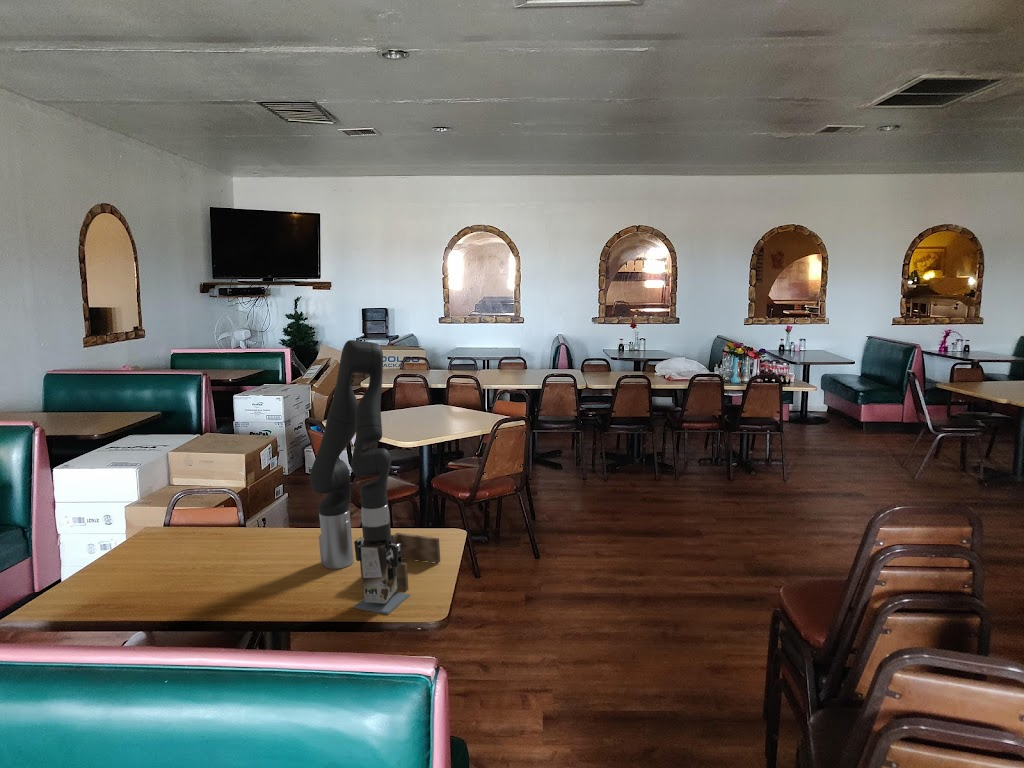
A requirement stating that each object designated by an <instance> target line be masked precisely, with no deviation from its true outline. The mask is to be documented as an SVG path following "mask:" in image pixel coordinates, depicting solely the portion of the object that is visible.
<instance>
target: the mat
mask: <svg viewBox="0 0 1024 768" xmlns="http://www.w3.org/2000/svg"><path fill="white" fill-rule="evenodd" d="M410 596H411V594H410V593H405V592H399V591H395V592H394V594H393V595H392V596H391V597H390V599H389V600H388V601H387V602H386V603H385V604H383V603H370V602H365V597H363V598H362V599H361V600H360V601H358V602H357V603H356V604H355V605H354V606H353V609H355V608H356V609H355V610H357V609H358V610H362V611H367V612H373V613H378V614H384V615H389V614H391V613H392V612H393V611H394V610H395V609H397V608H398V606H400V605H401V604H403V602H404V601H406V600H407V599H408V598H409V597H410Z"/></svg>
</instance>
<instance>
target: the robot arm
mask: <svg viewBox="0 0 1024 768" xmlns="http://www.w3.org/2000/svg"><path fill="white" fill-rule="evenodd" d="M337 372H338V373H337V378H336V384H335V387H334V393H333V395H332V400H331V403H330V407H329V409H328V413H327V417H326V421H325V427H324V431H323V434H322V437H321V441H320V445H319V448H318V451H317V454H316V456H315V459H314V462H313V464H312V467H311V470H310V474H309V475H310V476H309V482H310V487H311V488H312V490H313V491H314V492H315V493H316V494H319V495H325V494H326V496H325V497H324V498H323V500H321V501H320V503H319V504H318V515H319V526H320V535H318V544H319V555H320V562H321V563H320V565H321V566H324V567H325V568H326V569H329V570H330V569H332V570H336V569H342V568H347V567H348V566H350V565H352V564H353V563H354V562H355V559H356V561H357V562H360V561H361V562H362V557H361V546H362V545H363V544H364V543H365V542H378V543H384V544H386V550H387V551H388V550H390V548H391V549H392V551H391V550H390V555H389V556H388V557H387V558H386V560H387V566H388V567H389V568H388V578H389V580H390V581H392V580H393V579H394V578H395V577H396V567H397V566H398V565H400V564H401V563H403V559H402V547H401V544H400V543H398V544H393V543H392V542H391V540H390V536H391V535H392V530H391V518H390V510H389V505H388V504H389V502H388V479H389V475H390V470H391V467H392V466H391V465H392V455H391V453H390V452H389V450H388V449H386V448H384V447H382V448H381V447H380V448H378V447H377V448H369V449H366V448H367V446H370V445H372V444H376V443H377V442H379V441H381V440H382V438H383V425H382V423H383V422H382V411H381V409H382V408H381V403H382V388H383V373H384V353H383V349H382V346H381V345H380V344H379V343H377V342H373V341H371V342H370V341H366V340H365V341H362V340H354V339H350V340H347V341H346V342H345V343H344V345H343V348H342V351H341V356H340V360H339V367H338V371H337ZM354 373H355V374H360V375H361V374H362V375H369V384H368V386H367V389H366V391H365V392H364V394H363V396H362V397H361V399H360V400H359V401H358V399H357V396H356V395H355V393H354V390H353V386H352V377H353V374H354ZM354 437H355V444H354V448H353V452H352V456H351V460H350V461H351V462H350V467H351V471H352V473H353V474H354V475H355V476H356V477H369V476H377V475H378V477H377V478H376V479H374V480H372V481H369V482H366V483H364V484H363V485H360V486H361V487H360V489H359V491H360V505H361V506H360V507H361V511H360V516H361V529H362V531H361V532H362V537H359V538H357V539H355V540H354V541H353V535H352V525H351V517H350V516H351V513H350V503H351V500H352V499H351V498H352V495H351V494H352V493H351V474H350V473H351V472H350V469H349V467H348V465H347V463H346V462H345V461H344V460H342V459H341V458H339V457H340V455H341V454H342V453H343V452H344V450H345V449H346V447H347V446H348V445H349V444H350V442H351V441H352V440H353V438H354ZM353 543H354V545H353ZM353 546H354V548H353ZM354 551H355V558H354ZM392 552H393V553H392ZM389 559H390V560H389ZM390 561H391V562H390Z"/></svg>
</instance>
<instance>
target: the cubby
mask: <svg viewBox="0 0 1024 768" xmlns="http://www.w3.org/2000/svg"><path fill="white" fill-rule="evenodd" d="M393 535H394V544H398V543H400V544H401V547H402V560H408V559H410V561H415V560H418V561H417V562H422V561H428V562H427V563H429V562H435V563H434V564H436V563H439V562H440V561H441V549H440V548H441V547H440V546H441V545H440V538H439V537H433V536H425V535H424V536H423V535H418V534H417V535H416V534H410V533H408V534H407V533H402V532H396V533H394V534H393ZM359 563H360V565H359V566H360V576H361V585H364V583H363V570H362V562H361V561H359ZM440 563H441V562H440ZM440 563H439V564H440ZM396 575H397V590H398V591H402V592H403V591H405V592H407V591H409V577H408V576H409V575H408V563H407V562H402V563H401V564H400V565H398V566H397V567H396ZM397 590H396V591H397Z"/></svg>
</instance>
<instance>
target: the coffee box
mask: <svg viewBox="0 0 1024 768" xmlns="http://www.w3.org/2000/svg"><path fill="white" fill-rule="evenodd" d="M394 535H395V534H391V536H390V540H391V542H392V543H393V544H394ZM390 550H391V551H392V549H391V548H390ZM390 550H388V551H387V550H386V544H384V543H378V542H365V543H364V544H363V545H362V546H361V557H362V570H363V583H364V584H363V594H364V595H363V596H364V598H365V602H370V603H383V604H385V603H386V602H387V601H388V600H389V599H390V597H391V596H392V595H393V594H394V592H397V575H396V577H395V578H394V579H393V580H392V581H390V580H389V578H388V568H389V567H388V566H387V560H386V558H387V557H388V556H389V555H390ZM392 553H393V552H392ZM389 560H390V559H389ZM390 562H391V561H390Z"/></svg>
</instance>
